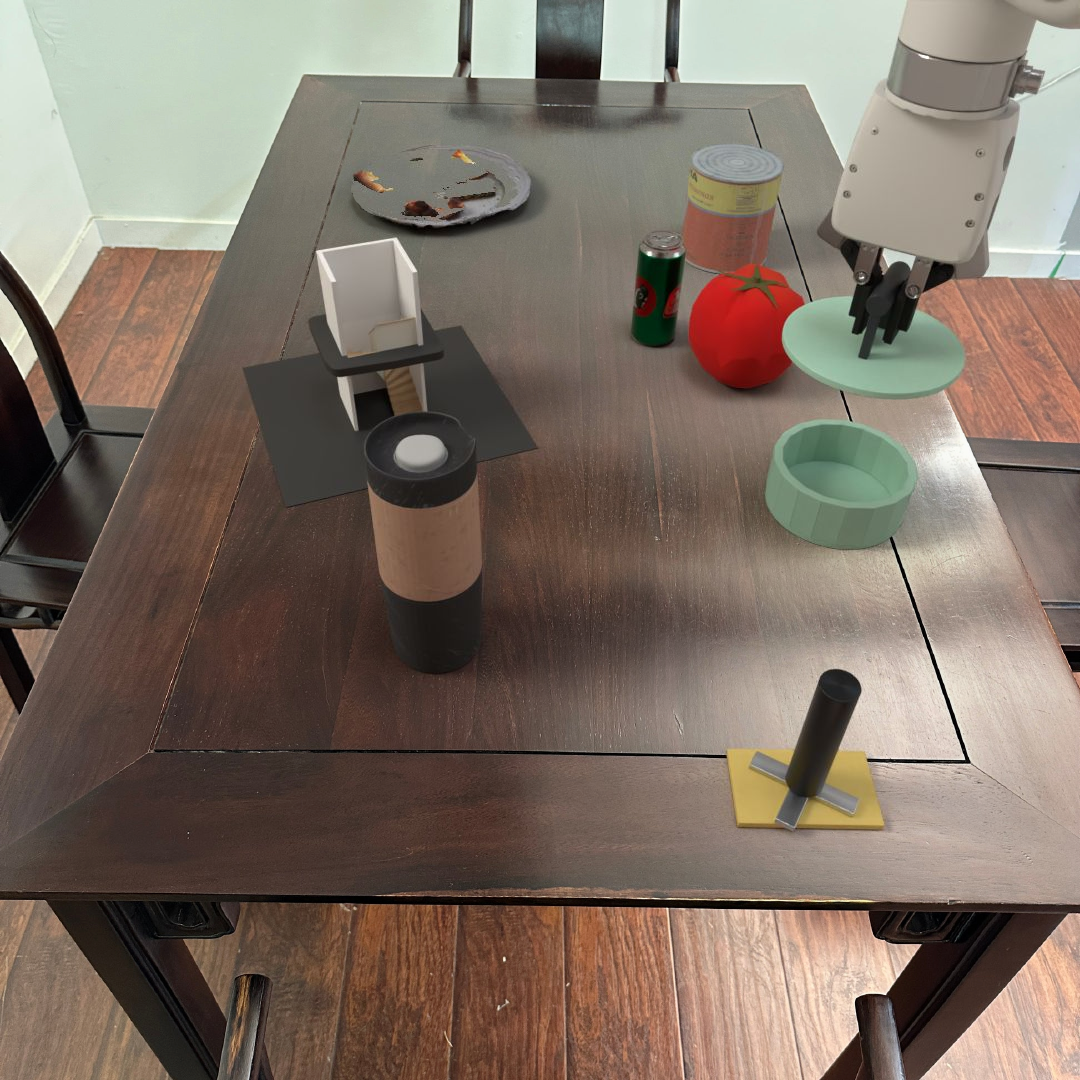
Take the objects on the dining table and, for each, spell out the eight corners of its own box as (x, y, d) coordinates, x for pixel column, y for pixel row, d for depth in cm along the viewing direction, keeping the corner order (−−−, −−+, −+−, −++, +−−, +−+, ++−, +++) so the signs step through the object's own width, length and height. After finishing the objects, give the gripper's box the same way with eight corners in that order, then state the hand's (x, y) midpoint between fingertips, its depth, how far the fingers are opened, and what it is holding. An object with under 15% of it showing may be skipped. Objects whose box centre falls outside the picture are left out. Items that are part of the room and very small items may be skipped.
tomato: (673, 394, 103) (686, 297, 95) (692, 329, 112) (706, 236, 104) (789, 413, 100) (812, 316, 92) (799, 346, 110) (821, 252, 102)
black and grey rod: (871, 769, 69) (917, 668, 61) (837, 854, 64) (883, 756, 56) (771, 723, 72) (802, 621, 64) (731, 801, 67) (760, 701, 59)
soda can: (669, 351, 109) (682, 253, 100) (626, 344, 110) (634, 245, 101) (678, 329, 112) (691, 231, 104) (636, 321, 113) (645, 224, 105)
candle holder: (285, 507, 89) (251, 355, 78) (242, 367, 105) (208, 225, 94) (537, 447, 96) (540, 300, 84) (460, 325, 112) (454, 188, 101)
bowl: (917, 487, 92) (933, 446, 89) (879, 569, 84) (894, 527, 81) (792, 444, 97) (802, 403, 93) (744, 517, 89) (753, 476, 85)
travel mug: (376, 667, 76) (344, 471, 62) (407, 597, 81) (383, 402, 67) (470, 684, 75) (459, 489, 61) (495, 612, 80) (490, 418, 66)
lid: (978, 339, 77) (1007, 263, 72) (935, 428, 68) (965, 349, 63) (813, 293, 81) (830, 219, 77) (754, 370, 73) (769, 293, 68)
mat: (862, 755, 70) (864, 750, 70) (882, 830, 66) (885, 825, 66) (726, 752, 70) (727, 748, 70) (737, 827, 66) (738, 822, 66)
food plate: (393, 252, 124) (390, 226, 122) (327, 184, 139) (323, 159, 136) (559, 211, 134) (560, 186, 131) (481, 151, 148) (480, 127, 146)
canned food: (697, 225, 131) (710, 136, 123) (778, 245, 127) (796, 154, 119) (666, 261, 124) (676, 168, 115) (749, 282, 120) (766, 189, 112)
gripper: (1094, 81, 60) (993, 337, 73) (847, 37, 66) (793, 282, 78) (1075, 120, 55) (970, 386, 68) (810, 69, 61) (760, 324, 74)
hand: (876, 329), depth 73 cm, fingers closed on lid
